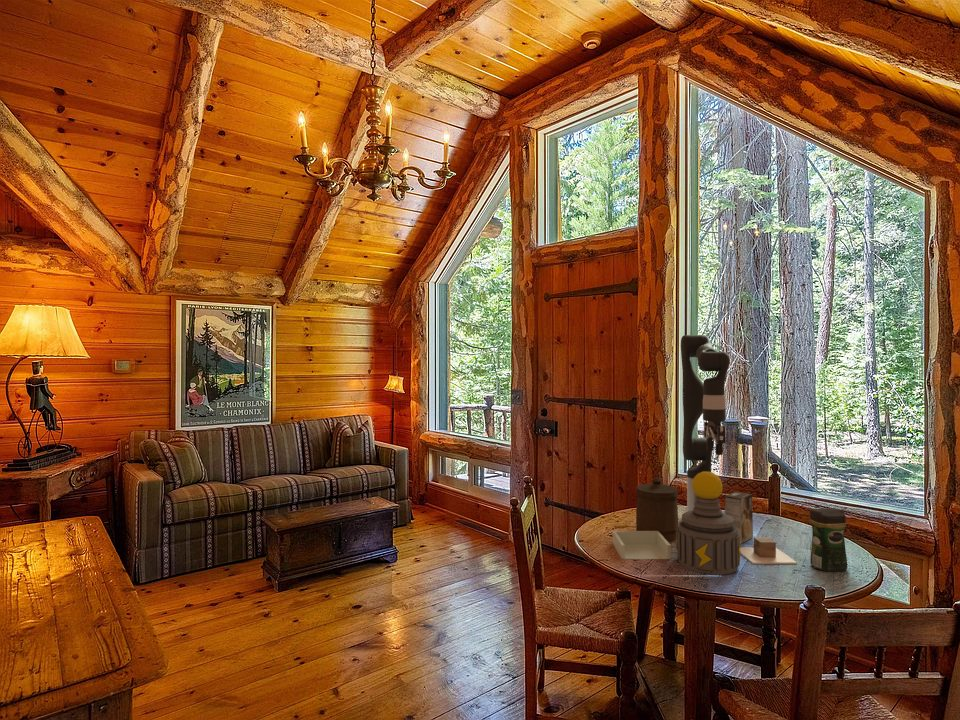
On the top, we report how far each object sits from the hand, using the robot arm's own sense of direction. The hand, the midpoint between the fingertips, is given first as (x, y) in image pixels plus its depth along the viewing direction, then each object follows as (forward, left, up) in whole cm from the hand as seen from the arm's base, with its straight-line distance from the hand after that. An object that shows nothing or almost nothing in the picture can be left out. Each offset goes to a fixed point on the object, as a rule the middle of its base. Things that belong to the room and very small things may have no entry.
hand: (714, 452), depth 202 cm
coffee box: (-4, +10, -32) cm, 34 cm away
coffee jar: (+24, +26, -32) cm, 48 cm away
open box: (+11, -29, -32) cm, 45 cm away
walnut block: (+14, +11, -32) cm, 36 cm away
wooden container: (-6, -19, -32) cm, 38 cm away
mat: (+14, +11, -32) cm, 37 cm away
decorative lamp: (+22, -10, -32) cm, 40 cm away
